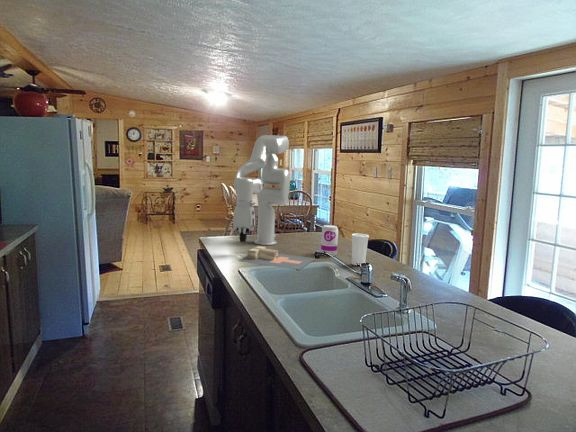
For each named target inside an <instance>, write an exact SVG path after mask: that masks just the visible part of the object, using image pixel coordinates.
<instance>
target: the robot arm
mask: <svg viewBox="0 0 576 432" xmlns="http://www.w3.org/2000/svg"><path fill="white" fill-rule="evenodd" d="M289 146H290V140H289V138H288V136H286V135H273V134H271V135H270V134H266V135H260V136H259V137H258V138H257V139H256V140H255V141H254V146H253V149H252V152H251V155H250V158H249V160H247V161H246V162H244V163H243V164H242V165H240V167H239V168H238V170H237V172H236V174H235V176H234V180H233V188H234V191H236V206H235V207H234V210H233V211H234V212H233V216H232V217H233V218H232V225H233V226H232V229H235V230H237V232H238V233H239V242H240V243H245V242H246V241H247V237H248V236H247V235H248V233H249V232H251V231H252V232H253V231H254V229H255V228H254V227H255V226H256V216H255V215H256V214H255V208H254V206H255V205H256V203H255V202H254V201H253V198H254V197H253V194H256V197H257V199H256V200H257V236H256V237H257V238H256V239H255V240H254V244H256V245H260V246H261V245H262V246H273V245H276V244H277V243H278V241H277V240H275V238H276V237H277V235H276V234H275V225H276V223H275V222H276V211H275V209H274V207H273V206H285V205H287V204H288V201H289V195H290V186H291V185H290V184H291V174H290V170H288V169H287V168H282V167H281V168H280V167H279V158H278V156H277V155H278V154H279V155H280V154H283V153H285V152H287V150H288V149H289ZM258 170H262V172H261V179H260V178H257V177H246V176H247V175H249V174H251V173H254V172H255V171H258ZM263 184H264V185H268V186H264V185H263ZM270 186H271V187H270ZM272 186H279V187H272Z"/></svg>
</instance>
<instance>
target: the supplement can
mask: <svg viewBox="0 0 576 432" xmlns="http://www.w3.org/2000/svg"><path fill="white" fill-rule="evenodd" d="M320 240H321V243H320V253H321V252H324V253H328V254H330V255H332V256H334V257H336V256H337V255H338V244H339V243H338V240H339V228H338V226H337V225H330V224H329V225H328V224H324V225H323V226H322V228H321V239H320ZM335 255H336V256H335Z"/></svg>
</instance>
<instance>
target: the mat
mask: <svg viewBox="0 0 576 432" xmlns="http://www.w3.org/2000/svg"><path fill="white" fill-rule="evenodd" d="M313 260H314V261H316V260H317V259H316V258H313V257H307V256H300V255H299V256H298V255H292V254H284V253H278V259H276V260H269V259H262V258H258V259H256V260H253V259H248V256H246V257H243V258H241V259H239V260H238V262H241V263H249V264H257V265H264V266H269V267H270V266H271V267H277V268H283V269H284V268H285V269H292V270H295V271H300V270H301V269H303V268H305V267H306V266H308V265H309V264H311V263H312V262H314V261H313ZM310 262H311V263H310ZM307 264H308V265H307Z"/></svg>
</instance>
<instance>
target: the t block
mask: <svg viewBox="0 0 576 432" xmlns="http://www.w3.org/2000/svg"><path fill="white" fill-rule="evenodd" d="M278 254H279V250H277V249H271V248H270V249H269V248H267V246H264V245H262V246H261V245H260V246H259V245H258V246H255V247H252V248H251V249H248V250H247V257H248V259H253V260H256V259H258V258H262V259H269V260H276V259H278Z"/></svg>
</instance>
